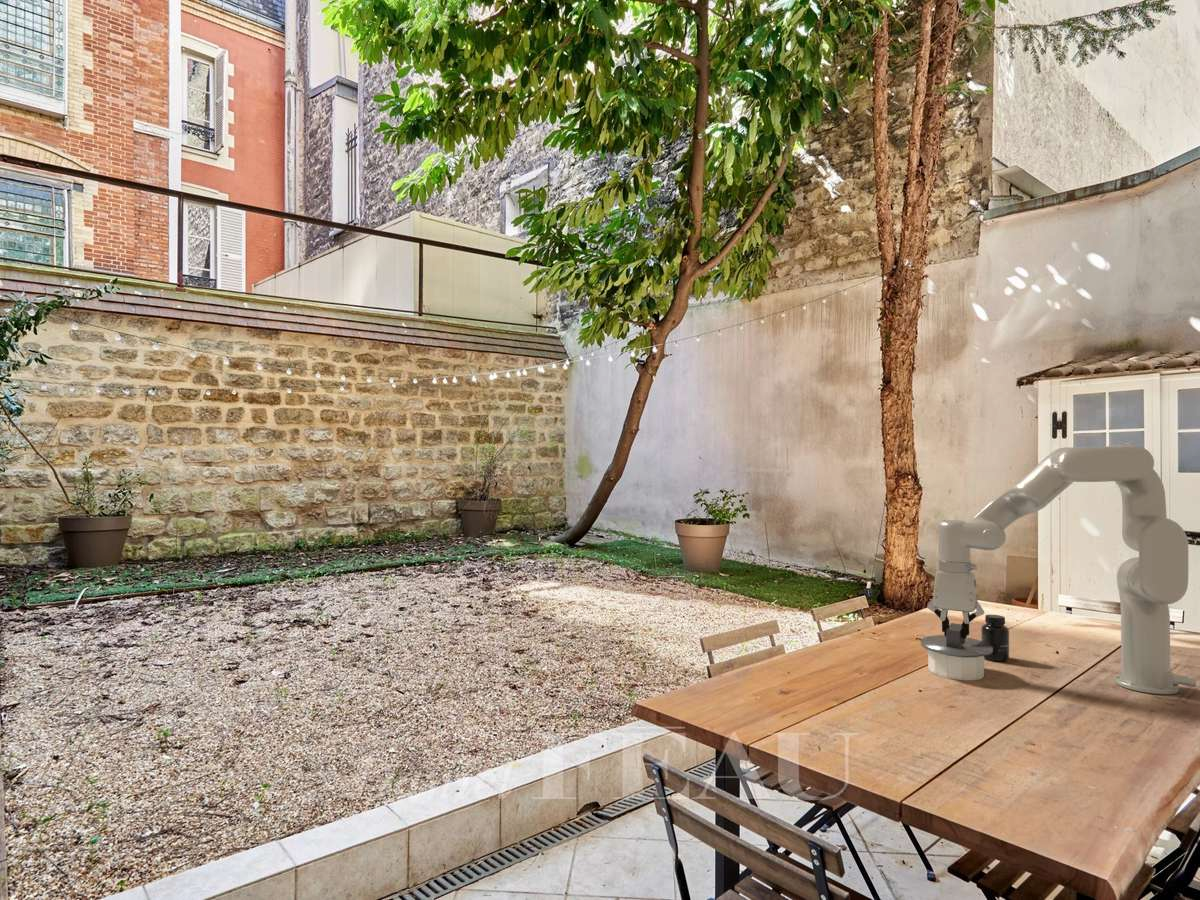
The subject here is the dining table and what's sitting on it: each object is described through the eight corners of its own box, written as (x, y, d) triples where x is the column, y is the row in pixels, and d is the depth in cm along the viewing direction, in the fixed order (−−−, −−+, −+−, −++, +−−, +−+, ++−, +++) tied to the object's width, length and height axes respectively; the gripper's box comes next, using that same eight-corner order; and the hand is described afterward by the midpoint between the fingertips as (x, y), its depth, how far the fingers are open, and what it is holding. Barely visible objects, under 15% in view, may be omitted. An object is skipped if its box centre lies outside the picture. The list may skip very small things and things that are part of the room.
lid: (996, 644, 184) (996, 624, 184) (988, 660, 170) (987, 639, 170) (927, 635, 194) (927, 616, 194) (914, 649, 180) (913, 629, 180)
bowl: (983, 669, 185) (984, 647, 185) (983, 684, 173) (984, 660, 173) (930, 661, 191) (930, 640, 191) (926, 675, 180) (927, 652, 180)
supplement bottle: (1007, 664, 188) (1007, 620, 188) (979, 659, 193) (979, 616, 193) (1011, 657, 194) (1010, 615, 194) (983, 653, 198) (982, 612, 198)
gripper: (992, 567, 180) (993, 637, 180) (923, 562, 190) (924, 629, 190) (988, 572, 174) (989, 644, 174) (917, 566, 184) (918, 635, 184)
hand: (955, 635), depth 182 cm, fingers open, 3 cm apart
